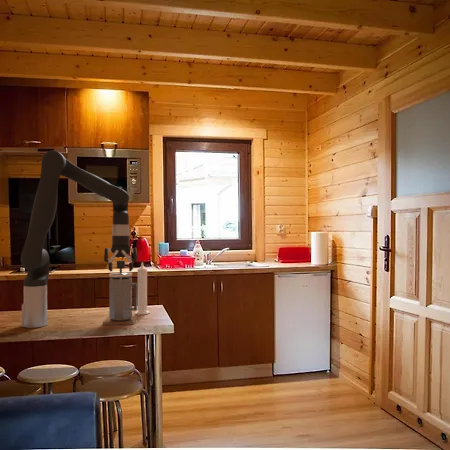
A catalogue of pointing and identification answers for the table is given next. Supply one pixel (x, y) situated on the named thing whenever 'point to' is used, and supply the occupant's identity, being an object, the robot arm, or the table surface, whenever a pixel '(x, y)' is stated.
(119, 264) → the plunger
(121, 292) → the press
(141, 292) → the candle
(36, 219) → the robot arm
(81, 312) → the table surface
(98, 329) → the table surface
